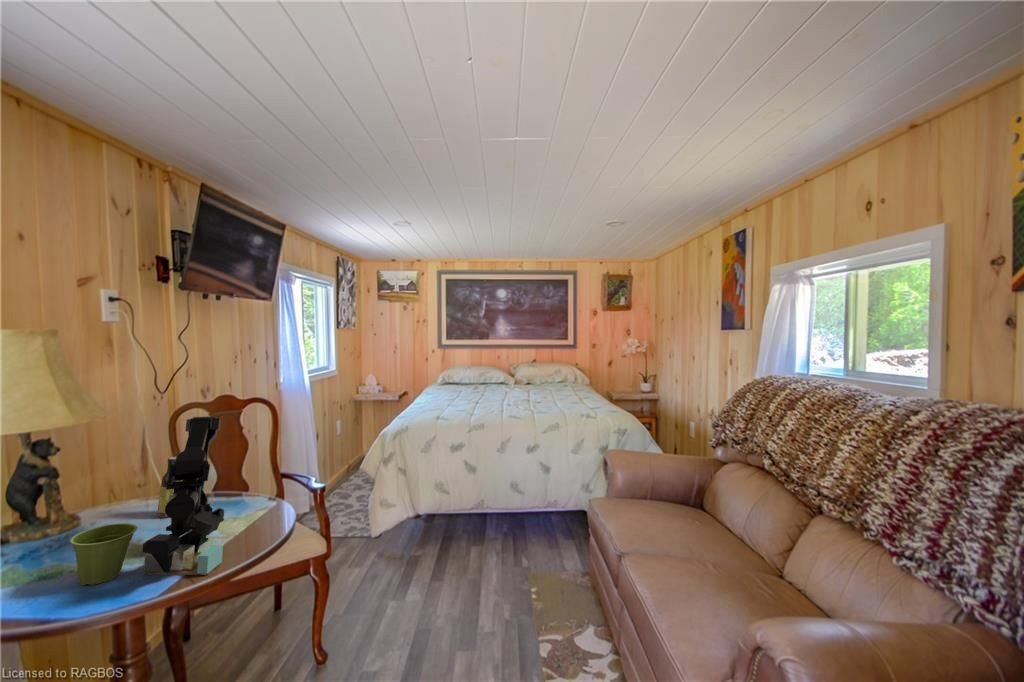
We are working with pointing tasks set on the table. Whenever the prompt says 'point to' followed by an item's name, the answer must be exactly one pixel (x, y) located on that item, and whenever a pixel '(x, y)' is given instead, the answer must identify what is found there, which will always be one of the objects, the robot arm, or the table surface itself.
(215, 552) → the turquoise rectangular block
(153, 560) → the dark grey cube
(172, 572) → the board
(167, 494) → the sauce bottle
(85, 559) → the plant pot
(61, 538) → the table surface
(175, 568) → the cream rectangular block
